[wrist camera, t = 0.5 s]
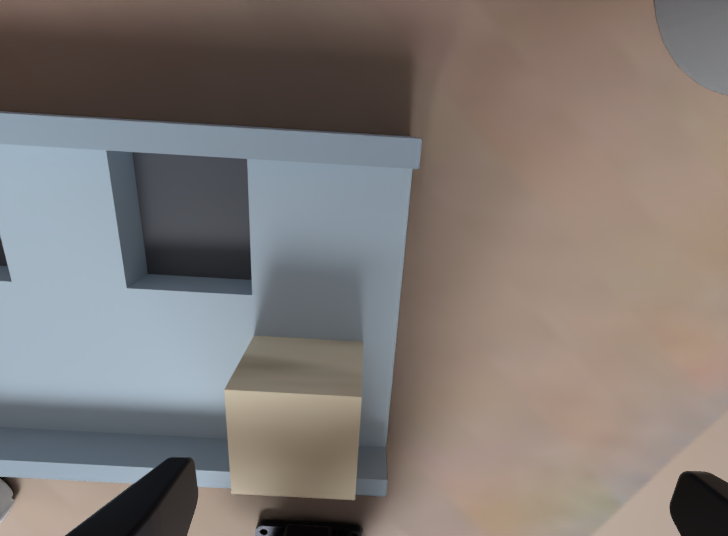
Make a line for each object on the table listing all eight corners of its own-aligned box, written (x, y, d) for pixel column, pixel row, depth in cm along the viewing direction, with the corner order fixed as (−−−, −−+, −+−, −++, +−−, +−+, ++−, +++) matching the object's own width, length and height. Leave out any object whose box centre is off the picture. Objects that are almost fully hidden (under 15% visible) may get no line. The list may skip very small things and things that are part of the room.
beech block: (357, 429, 20) (354, 499, 16) (257, 424, 20) (231, 493, 16) (363, 341, 18) (361, 397, 15) (253, 335, 18) (224, 389, 15)
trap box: (383, 434, 23) (385, 496, 19) (-84, 409, 22) (-176, 467, 19) (410, 136, 17) (422, 138, 14) (-201, 98, 17) (-363, 90, 13)
